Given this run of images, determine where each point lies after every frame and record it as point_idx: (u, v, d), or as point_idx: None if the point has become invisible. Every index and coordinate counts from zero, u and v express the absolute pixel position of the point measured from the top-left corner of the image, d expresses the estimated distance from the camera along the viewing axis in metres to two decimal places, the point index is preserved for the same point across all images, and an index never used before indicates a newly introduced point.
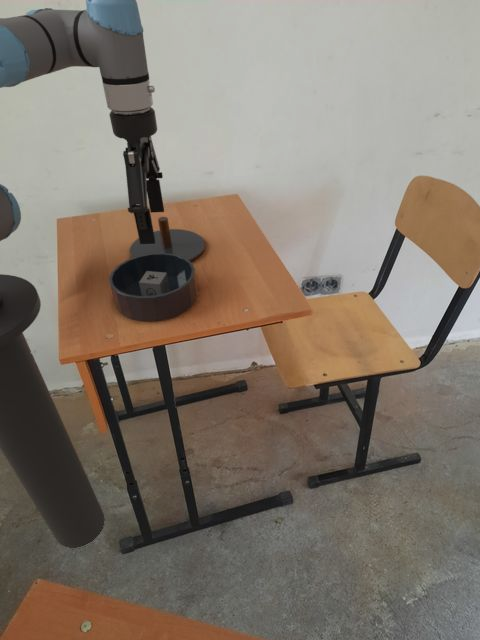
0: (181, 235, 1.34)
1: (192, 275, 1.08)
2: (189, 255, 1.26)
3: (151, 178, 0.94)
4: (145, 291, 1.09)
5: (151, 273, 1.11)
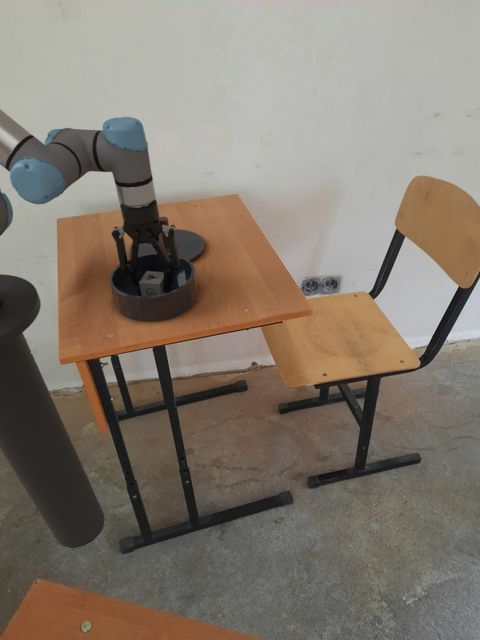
0: (181, 235, 1.34)
1: (192, 275, 1.08)
2: (189, 255, 1.26)
3: (136, 269, 1.08)
4: (145, 291, 1.09)
5: (151, 273, 1.11)
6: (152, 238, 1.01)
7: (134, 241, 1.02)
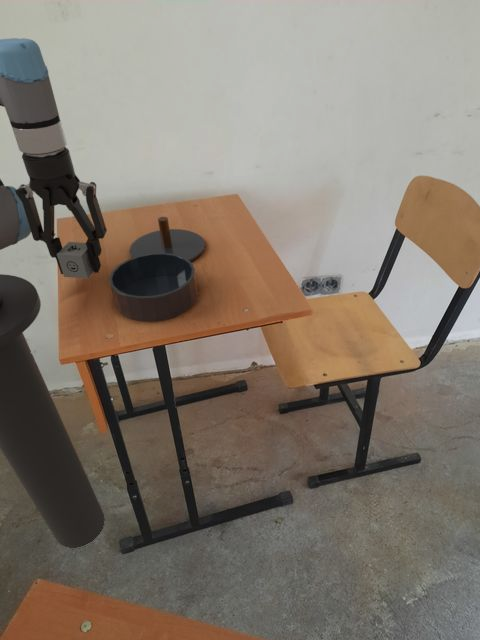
0: (181, 235, 1.34)
1: (192, 275, 1.08)
2: (189, 255, 1.26)
3: (52, 238, 0.89)
4: (65, 265, 0.91)
5: (74, 244, 0.92)
6: (66, 198, 0.83)
7: (44, 202, 0.83)
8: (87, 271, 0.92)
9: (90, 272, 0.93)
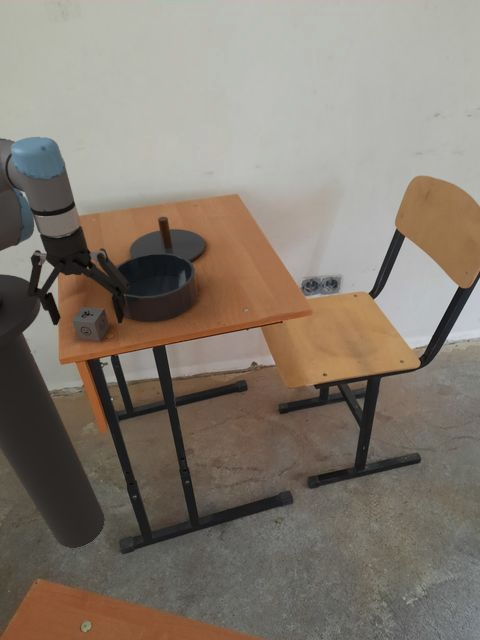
0: (181, 235, 1.34)
1: (192, 275, 1.08)
2: (189, 255, 1.26)
3: (45, 295, 0.96)
4: (79, 330, 1.00)
5: (87, 309, 1.01)
6: (81, 268, 0.91)
7: (55, 271, 0.91)
8: (99, 335, 1.00)
9: (101, 335, 1.01)
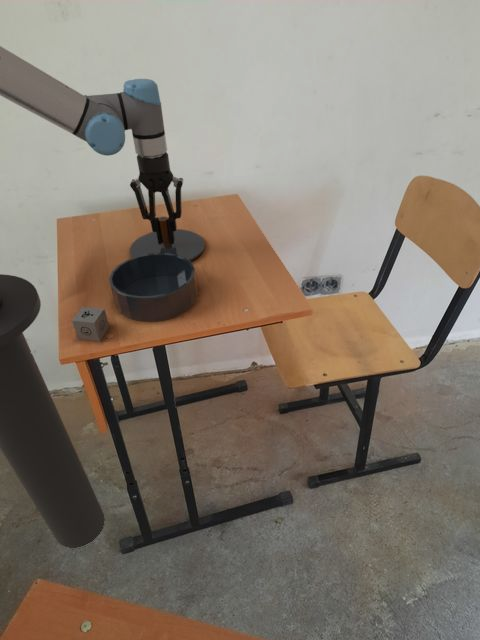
0: (181, 235, 1.34)
1: (192, 275, 1.08)
2: (189, 255, 1.26)
3: (155, 217, 1.24)
4: (79, 330, 1.00)
5: (87, 309, 1.01)
6: (163, 187, 1.17)
7: (149, 190, 1.18)
8: (99, 335, 1.00)
9: (101, 335, 1.01)
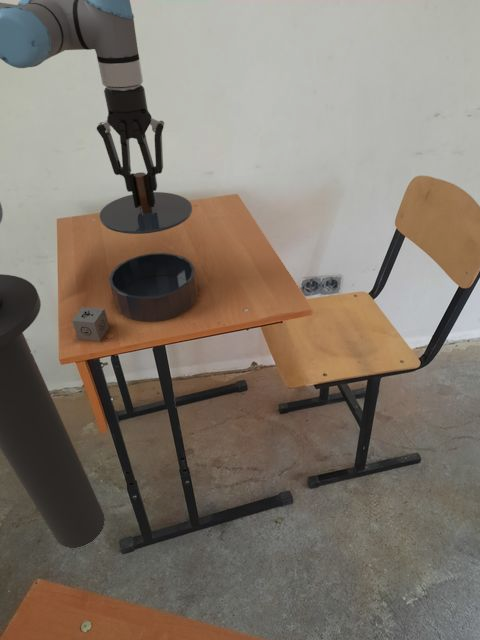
0: (163, 198, 1.10)
1: (192, 275, 1.08)
2: (173, 220, 1.02)
3: (130, 172, 1.00)
4: (79, 330, 1.00)
5: (87, 309, 1.01)
6: (138, 132, 0.93)
7: (122, 135, 0.94)
8: (99, 335, 1.00)
9: (101, 335, 1.01)
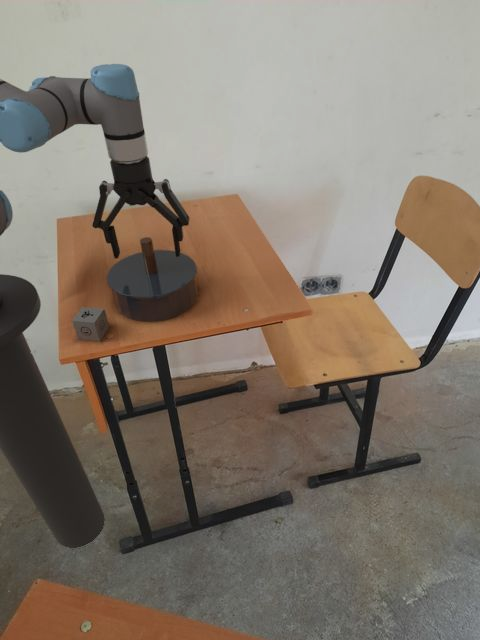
0: (169, 257, 1.13)
1: None
2: (178, 283, 1.04)
3: (108, 227, 1.01)
4: (79, 330, 1.00)
5: (87, 309, 1.01)
6: (146, 197, 0.95)
7: (121, 200, 0.96)
8: (99, 335, 1.00)
9: (101, 335, 1.01)
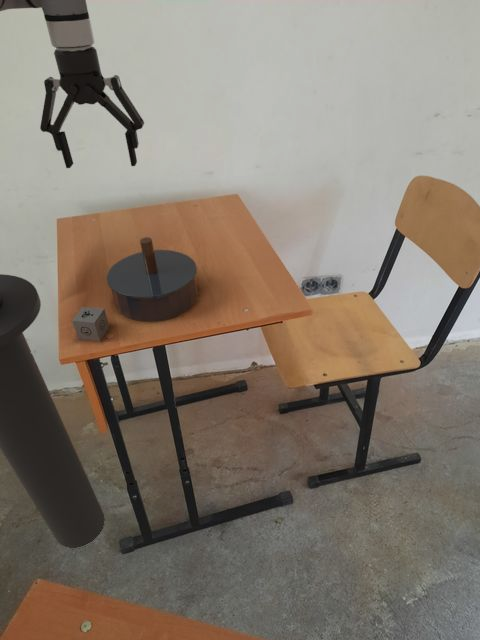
0: (169, 257, 1.13)
1: None
2: (178, 283, 1.04)
3: (58, 132, 0.96)
4: (79, 330, 1.00)
5: (87, 309, 1.01)
6: (95, 93, 0.90)
7: (69, 97, 0.90)
8: (99, 335, 1.00)
9: (101, 335, 1.01)
